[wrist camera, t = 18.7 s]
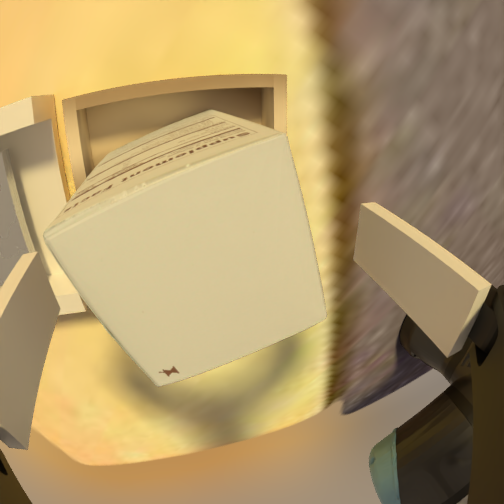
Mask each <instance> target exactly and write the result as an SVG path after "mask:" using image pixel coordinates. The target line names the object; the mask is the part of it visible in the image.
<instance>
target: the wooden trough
mask: <svg viewBox="0 0 504 504" xmlns="http://www.w3.org/2000/svg"><path fill="white" fill-rule="evenodd" d="M62 105H63V114H64V122H65V130H66V137H67V144H68V150H69V156H70V162H71V168H72V173H73V178H74V183H75V188H76V191H77V189H78V188H79V187H80V186H81V184H82V183H83V182H84V181H85V179H86V178H87V177H88V176H89V174H90V173H91V172H92V171H93V170H94V168H95V167H96V166H97V165H98V164H99V163H100V162H101V161H102V160H103V159H104V157H105V156H106V155H107V154H108V153H110V152H112V151H114V150H115V149H117V148H119V147H121V146H124V145H126V144H128V143H130V142H132V141H134V140H136V139H138V138H140V137H143V136H145V135H147V134H149V133H152V132H154V131H156V130H159V129H161V128H163V127H166V126H168V125H170V124H173V123H175V122H178V121H180V120H183V119H186V118H188V117H191V116H193V115H196V114H198V113H201V112H204V111H206V110H209V109H212V110H216V111H219V112H222V113H225V114H229V115H232V116H235V117H238V118H242V119H245V120H248V121H251V122H254V123H257V124H260V125H263V126H266V127H268V128H271V129H274V130H277V131H280V132H283V133H286V135H287V75H281V74H235V75H213V76H198V77H187V78H177V79H168V80H160V81H152V82H146V83H139V84H133V85H127V86H122V87H116V88H111V89H106V90H101V91H97V92H92V93H88V94H84V95H80V96H76V97H72V98H68V99H64V100H62Z"/></svg>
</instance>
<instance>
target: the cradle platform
mask: <svg viewBox="0 0 504 504" xmlns="http://www.w3.org/2000/svg"><path fill="white" fill-rule="evenodd" d="M32 252H36V251H35V248H34V246H33V243H32V240H31V237H30V234H29V230H28V227H27V224H26V221H25V217H24V214H23V210H22V207H21V203H20V199H19V195H18V191H17V187H16V183H15V179H14V174H13V170H12V165H11V160H10V155H9V149H6V150H3V151H0V286H3V284H4V282H5V281H6V279H7V278H8V276H9V274H10V273H11V271H12V270H13V268H14V267H15V265H16V264H17V262H18V261H19V259H20V258H21V256H22V255H23V254H27V253H32Z"/></svg>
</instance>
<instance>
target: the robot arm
mask: <svg viewBox="0 0 504 504" xmlns="http://www.w3.org/2000/svg"><path fill="white" fill-rule="evenodd" d="M353 260H354V261H355V262H356V263H357V264H358V265H359V266H360V267H361V268H362V269H363V270H364V271H365V272H366V273H367V274H368V275H369V276H370V277H371V278H372V279H373V280H374V281H375V282H376V283H377V284H378V285H379V286H380V287H381V288H382V289H383V290H384V291H385V292H386V293H387V294H388V295H389V296H390V297H391V298H392V299H393V300H394V301H395V302H396V303H397V304H398V305H399V306H400V307H401V308H402V309H403V310H404V311H405V312H406V313H407V317H406V319H405V321H404V323H403V326H402V329H401V333H400V342H401V344H402V346H403V347H404V348H405V349H406V351H407V352H408V353H409V354H410V355H411V356H412V357H414V358H417V359H420V360H422V361H423V362H424V363H426V364H427V365H429V366H430V367H432V368H434V369H436V370H438V371H439V372H440V373H441V374H443V376H444V377H445V378H446V379H447V380H448V382H449V383H450V384H451V385H450V386H449V387H448V388H447V389H446V390H445V391H444V392H443V393H442V394H440V395H439V396H438V397H437V398H436V399H434V400H433V401H432V402H431V403H430V404H428V405H427V406H426V407H425V408H423V409H422V410H421V411H420V412H418V413H417V414H416V415H415V416H413V417H412V418H411V419H409V420H408V421H407V422H405V423H404V424H403V425H402V426H400V427H399V428H395V429H394V430H393V432H392V433H391V434H389V435H388V436H387V437H385V438H384V439H383V440H381V441H380V442H379V443H377V444H376V445H375V446H374V447H373V449H372V450H371V453H370V456H369V467H370V473H371V477H372V481H373V484H374V487H375V490H376V493H377V495H378V497H379V499H380V501H381V503H382V504H504V285H501V286H499V287H498V289H496V288H495V287H494V286H493V285H491V284H490V283H489V282H488V281H486V280H485V279H484V278H483V277H481V276H480V275H479V274H478V273H476V272H475V271H474V270H472V269H471V268H470V267H469V266H467V265H466V264H465V263H463V262H462V261H461V260H459V259H458V258H457V257H455V256H454V255H453V254H451V253H450V252H448V251H447V250H446V249H444V248H443V247H441V246H440V245H439V244H437V243H436V242H434V241H433V240H432V239H430V238H429V237H427V236H426V235H424V234H423V233H421V232H420V231H418V230H417V229H416V228H414V227H413V226H411V225H410V224H408V223H407V222H405V221H403V220H402V219H400V218H399V217H397V216H396V215H394V214H393V213H391V212H390V211H388V210H386V209H385V208H383V207H382V206H380V205H378V204H377V203H375V202H373V203H363V204H361V207H360V215H359V223H358V231H357V238H356V245H355V252H354V258H353ZM59 312H60V306H59V304H58V302H57V299H56V297H55V295H54V292H53V290H52V287H51V285H50V282H49V280H48V277H47V275H46V272H45V269H44V267H43V264H42V261H41V258H40V256H39V253H38V251H37V252H32V253H27V254H23V255H22V256H21V258H20V259H19V261H18V262H17V264H16V265H15V267H14V268H13V270H12V271H11V273H10V274H9V276H8V278H7V279H6V281H5V282H4V284H3V286H2V287H1V289H0V440H1V441H2V442H4V443H5V444H6V445H7V446H8V447H9V448H17V449H26V450H28V445H29V437H30V430H31V424H32V418H33V413H34V407H35V402H36V397H37V392H38V388H39V383H40V379H41V375H42V371H43V367H44V363H45V359H46V355H47V352H48V348H49V344H50V341H51V338H52V334H53V331H54V328H55V324H56V321H57V318H58V315H59ZM0 504H32V503H31V501H30V500H29V498H28V496H27V495H26V493H25V492H24V490H23V489H22V487H21V485H20V483H19V482H18V480H17V478H16V476H15V475H14V473H13V471H12V469H11V468H10V466H9V464H8V462H7V460H6V458H5V456H4V454H3V453H2V451H1V450H0Z"/></svg>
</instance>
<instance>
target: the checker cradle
mask: <svg viewBox="0 0 504 504" xmlns="http://www.w3.org/2000/svg"><path fill="white" fill-rule="evenodd" d="M6 149H9V155H10V160H11V165H12V170H13V174H14V179H15V183H16V187H17V191H18V195H19V199H20V203H21V207H22V210H23V214H24V217H25V221H26V224H27V227H28V230H29V234H30V237H31V240H32V243H33V246H34V248H35V251H36V252H37V251H38V253H39V256H40V258H41V261H42V264H43V267H44V269H45V272H46V275H47V277H48V280H49V282H50V285H51V287H52V290H53V292H54V295H55V297H56V299H57V302H58V304H59V306H60V312H59V315H63V314H70V313H78V312H85V311H86V308H87V304H86V303H85V301H84V300H83V299H82V297H81V296H80V295H79V293H78V292H77V290H76V289H75V288H74V286H73V285H72V283H71V282H70V280H69V279H68V277H67V276H66V275H65V273H64V272H63V270H62V269H61V268H60V266H59V265H58V263H57V262H56V260H55V259H54V257H53V255H52V254H51V252H50V251H49V249H48V248H47V246H46V244H45V241H44V238H43V233H44V231H45V229H46V228H47V227H48V226H49V225H50V224H51V222H52V221H53V220H54V219H55V218H56V217H57V215H58V214H59V213H60V212H61V210H62V209H63V208H64V206H65V205H66V204H67V202H68V201H69V200H70V194H69V190H68V185H67V180H66V175H65V170H64V165H63V160H62V154H61V148H60V141H59V135H58V128H57V120H56V111H55V101H54V95H41V96H31V97H28V98H25V99H22V100H20V101H17V102H14V103H12V104H9V105H6V106H4V107H1V108H0V151H3V150H6ZM1 287H2V286H0V289H1Z"/></svg>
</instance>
